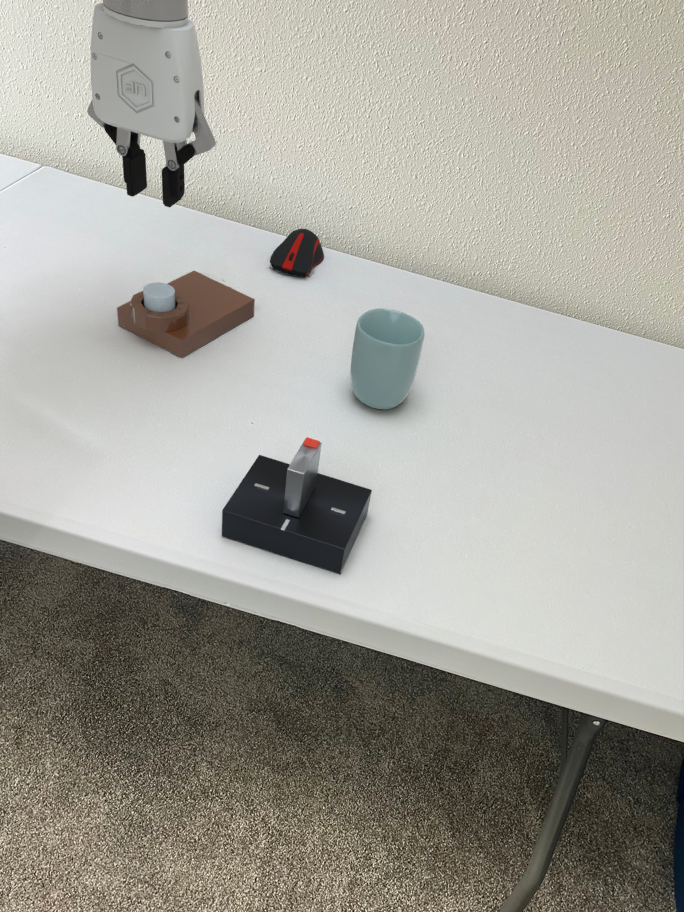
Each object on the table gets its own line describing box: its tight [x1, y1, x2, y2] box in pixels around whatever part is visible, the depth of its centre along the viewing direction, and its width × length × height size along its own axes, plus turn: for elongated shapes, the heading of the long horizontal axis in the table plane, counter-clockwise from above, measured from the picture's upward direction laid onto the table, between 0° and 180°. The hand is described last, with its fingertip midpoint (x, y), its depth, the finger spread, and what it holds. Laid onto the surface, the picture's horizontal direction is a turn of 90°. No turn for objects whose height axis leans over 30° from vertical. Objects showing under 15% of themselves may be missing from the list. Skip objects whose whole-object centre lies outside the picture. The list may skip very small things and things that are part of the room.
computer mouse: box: [269, 228, 325, 278], centre depth 115 cm, size 6×11×4 cm, turn 167°
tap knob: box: [283, 436, 323, 518], centre depth 73 cm, size 5×2×6 cm, turn 166°
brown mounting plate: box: [116, 270, 256, 359], centre depth 98 cm, size 15×10×4 cm, turn 150°
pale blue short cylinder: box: [142, 281, 175, 312], centre depth 93 cm, size 4×4×2 cm
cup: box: [349, 307, 426, 410], centre depth 92 cm, size 8×8×10 cm
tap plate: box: [221, 454, 373, 575], centre depth 76 cm, size 12×9×4 cm
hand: (154, 195), depth 84 cm, fingers open, 3 cm apart
